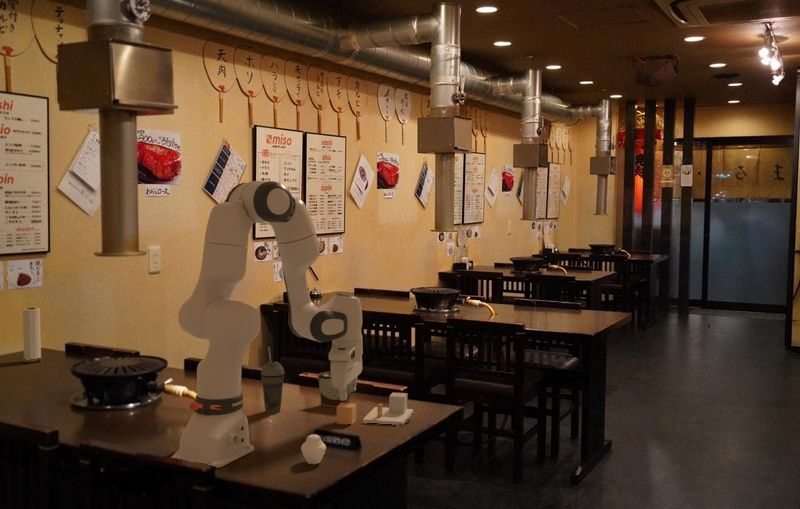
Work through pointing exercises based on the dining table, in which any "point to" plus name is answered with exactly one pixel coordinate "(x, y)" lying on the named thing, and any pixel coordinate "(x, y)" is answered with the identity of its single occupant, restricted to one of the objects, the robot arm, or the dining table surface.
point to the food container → (330, 391)
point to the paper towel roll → (31, 333)
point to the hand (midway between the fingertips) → (348, 395)
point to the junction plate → (391, 411)
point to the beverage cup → (272, 385)
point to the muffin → (313, 449)
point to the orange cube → (346, 413)
